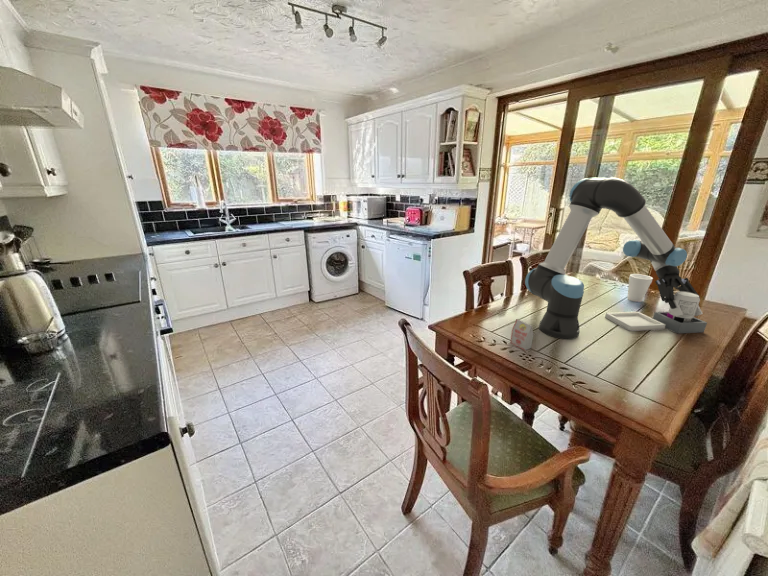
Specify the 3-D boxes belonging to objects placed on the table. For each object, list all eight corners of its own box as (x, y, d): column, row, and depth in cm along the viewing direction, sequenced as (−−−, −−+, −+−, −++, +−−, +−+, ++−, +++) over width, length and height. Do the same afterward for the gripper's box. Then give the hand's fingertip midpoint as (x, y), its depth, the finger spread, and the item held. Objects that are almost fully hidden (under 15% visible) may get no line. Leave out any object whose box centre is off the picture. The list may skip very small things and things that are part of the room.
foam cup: (638, 296, 171) (644, 274, 166) (650, 303, 162) (657, 279, 158) (619, 296, 171) (625, 273, 167) (630, 302, 163) (637, 279, 158)
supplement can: (659, 323, 139) (670, 291, 134) (672, 320, 142) (683, 289, 137) (680, 331, 132) (692, 298, 127) (694, 328, 134) (706, 296, 129)
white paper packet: (516, 340, 126) (519, 318, 123) (531, 347, 121) (535, 324, 117) (510, 342, 125) (513, 320, 121) (524, 350, 119) (528, 326, 116)
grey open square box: (677, 333, 131) (680, 323, 129) (651, 321, 142) (654, 312, 141) (703, 332, 132) (707, 322, 130) (676, 320, 143) (679, 311, 142)
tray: (629, 331, 133) (630, 326, 132) (604, 317, 146) (606, 312, 146) (664, 329, 134) (665, 324, 134) (636, 315, 148) (638, 311, 147)
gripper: (679, 271, 145) (703, 317, 136) (637, 272, 144) (658, 319, 134) (694, 263, 139) (721, 311, 129) (650, 264, 137) (674, 313, 127)
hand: (689, 315), depth 132 cm, fingers closed on supplement can, 8 cm apart
